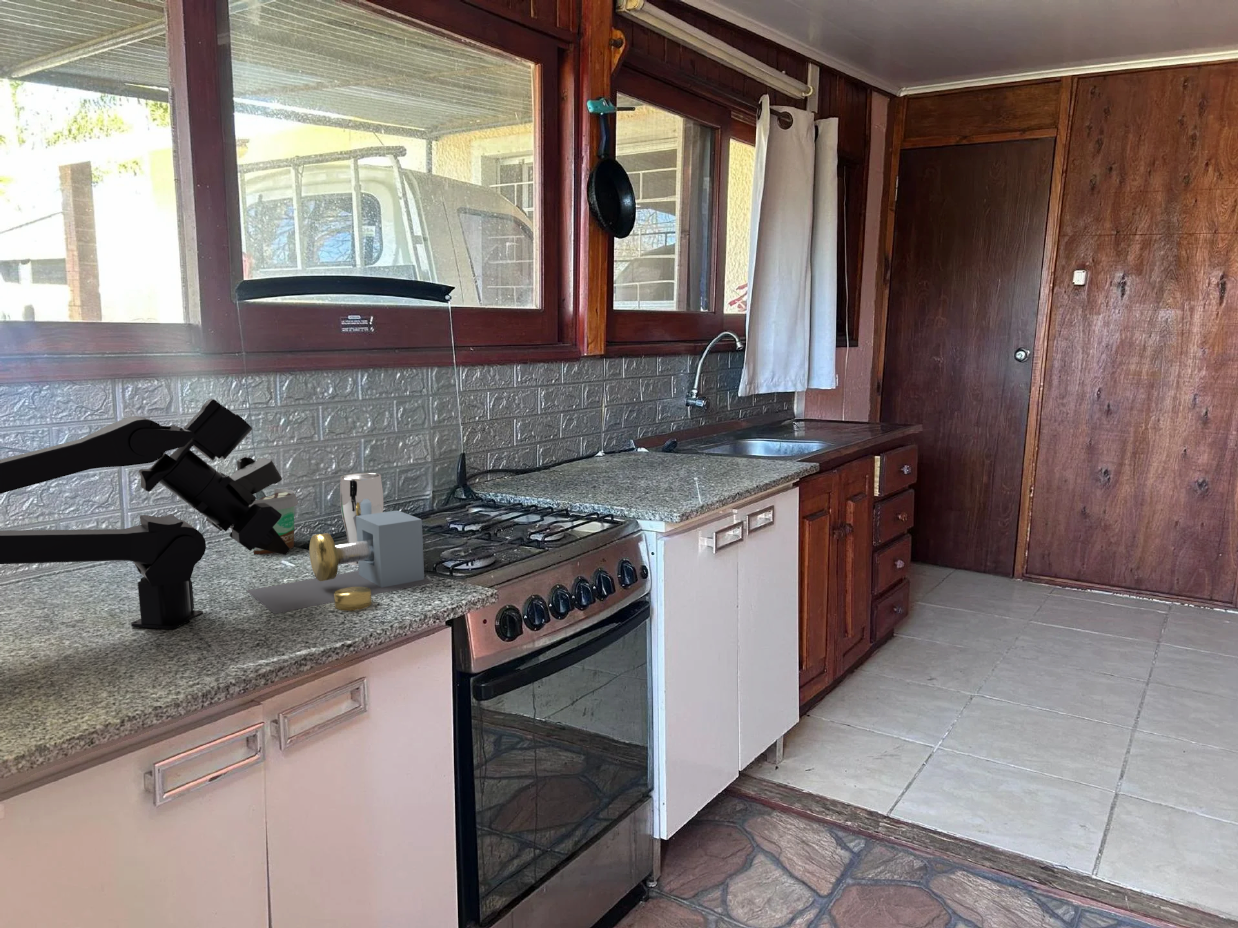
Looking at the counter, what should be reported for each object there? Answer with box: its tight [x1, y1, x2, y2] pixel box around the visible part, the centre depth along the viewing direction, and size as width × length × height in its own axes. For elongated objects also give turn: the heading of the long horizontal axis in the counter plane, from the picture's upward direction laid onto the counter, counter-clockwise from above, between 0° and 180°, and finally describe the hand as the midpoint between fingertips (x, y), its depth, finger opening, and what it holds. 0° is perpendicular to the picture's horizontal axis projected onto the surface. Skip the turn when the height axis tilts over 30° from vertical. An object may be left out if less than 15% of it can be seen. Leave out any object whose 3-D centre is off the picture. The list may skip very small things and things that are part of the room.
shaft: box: [309, 532, 374, 581], centre depth 134 cm, size 15×7×7 cm, turn 128°
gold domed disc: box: [334, 587, 373, 612], centre depth 123 cm, size 5×5×2 cm
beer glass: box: [339, 472, 384, 566], centre depth 147 cm, size 7×7×15 cm
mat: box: [246, 570, 434, 615], centre depth 133 cm, size 24×14×1 cm, turn 128°
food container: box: [249, 488, 299, 556], centre depth 158 cm, size 12×6×10 cm, turn 179°
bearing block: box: [356, 510, 425, 587], centre depth 137 cm, size 7×9×10 cm
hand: (287, 551), depth 127 cm, fingers closed
